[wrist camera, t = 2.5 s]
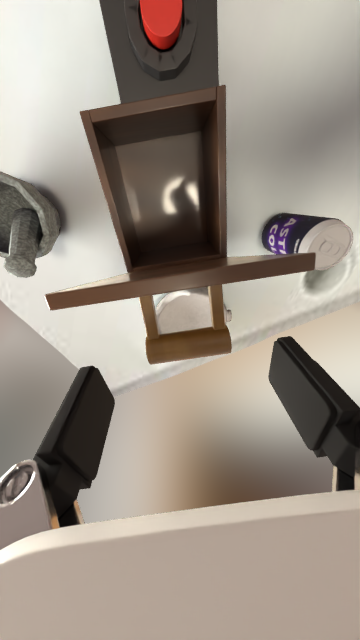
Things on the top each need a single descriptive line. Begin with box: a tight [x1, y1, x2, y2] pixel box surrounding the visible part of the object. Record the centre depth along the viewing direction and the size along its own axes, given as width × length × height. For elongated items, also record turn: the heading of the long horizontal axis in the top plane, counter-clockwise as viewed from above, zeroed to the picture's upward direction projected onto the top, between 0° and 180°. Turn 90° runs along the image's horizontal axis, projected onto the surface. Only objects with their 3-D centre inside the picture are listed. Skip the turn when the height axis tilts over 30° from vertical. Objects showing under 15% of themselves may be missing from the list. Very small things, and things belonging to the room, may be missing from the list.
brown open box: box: [80, 85, 227, 273], centre depth 24 cm, size 15×13×9 cm
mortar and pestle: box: [0, 172, 61, 278], centre depth 23 cm, size 11×9×12 cm
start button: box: [140, 0, 182, 50], centre depth 17 cm, size 4×4×2 cm
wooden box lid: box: [45, 252, 316, 364], centre depth 17 cm, size 15×13×5 cm
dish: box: [155, 287, 232, 334], centre depth 36 cm, size 14×14×5 cm
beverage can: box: [262, 213, 353, 270], centre depth 26 cm, size 6×6×12 cm
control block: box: [99, 0, 219, 104], centre depth 19 cm, size 11×8×4 cm
